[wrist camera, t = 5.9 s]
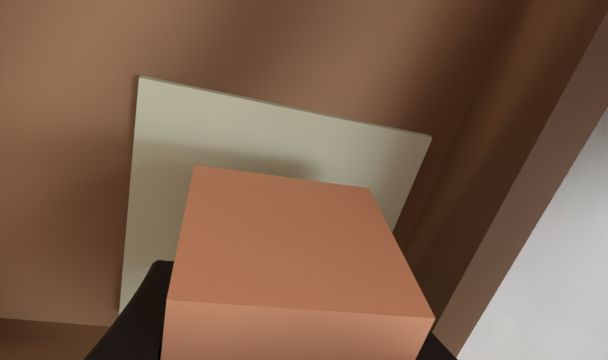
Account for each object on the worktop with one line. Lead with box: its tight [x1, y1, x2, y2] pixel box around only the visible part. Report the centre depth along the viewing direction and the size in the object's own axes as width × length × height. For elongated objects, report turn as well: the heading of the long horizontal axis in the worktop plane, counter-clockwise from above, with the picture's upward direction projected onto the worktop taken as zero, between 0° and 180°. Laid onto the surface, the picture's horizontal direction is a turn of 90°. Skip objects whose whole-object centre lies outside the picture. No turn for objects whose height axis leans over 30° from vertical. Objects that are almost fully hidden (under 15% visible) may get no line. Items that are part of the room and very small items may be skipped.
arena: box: [0, 0, 608, 360], centre depth 11 cm, size 16×16×4 cm
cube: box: [161, 165, 435, 360], centre depth 10 cm, size 4×4×4 cm
